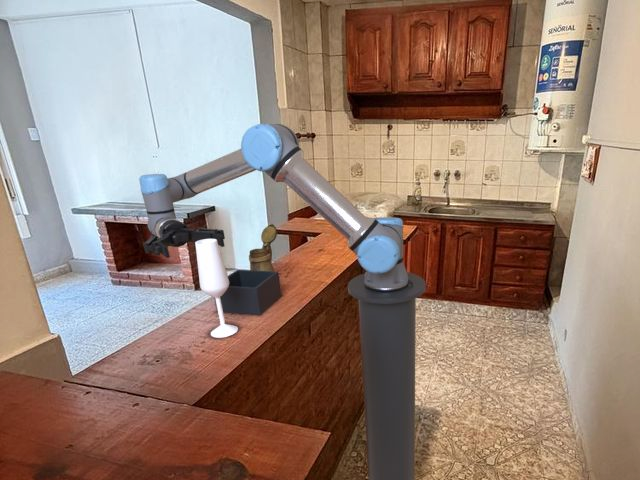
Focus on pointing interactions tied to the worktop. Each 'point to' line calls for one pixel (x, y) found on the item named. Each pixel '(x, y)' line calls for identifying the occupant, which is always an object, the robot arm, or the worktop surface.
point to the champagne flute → (213, 280)
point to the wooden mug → (263, 251)
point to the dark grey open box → (250, 292)
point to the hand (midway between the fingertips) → (195, 247)
